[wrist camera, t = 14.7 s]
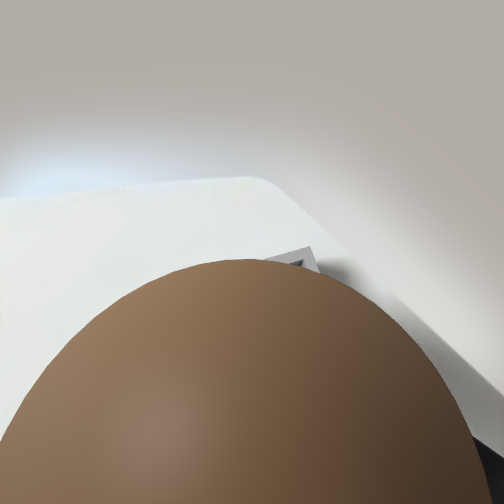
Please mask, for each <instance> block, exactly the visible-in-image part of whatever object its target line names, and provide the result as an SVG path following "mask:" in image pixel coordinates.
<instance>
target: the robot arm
mask: <svg viewBox="0 0 504 504" xmlns="http://www.w3.org/2000/svg"><path fill="white" fill-rule="evenodd" d="M472 438H473V441H474V443H475V446H476V449H477V451H478V454H479V457H480V460H481V462H482V465H483V468H484V472H485V476H486V480H487V484H488V487H489V491H490V495H491V499H492V503H493V504H504V458H503V457H502V456H500V455H499V454H497V453H496V452H494V451H493V450H492V449H490V448H489V447H487V446H486V445H484V444H483V443H482V442H480V441H479V440H477V439H476V438H475V437H473V436H472Z"/></svg>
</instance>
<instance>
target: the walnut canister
mask: <svg viewBox="0 0 504 504" xmlns="http://www.w3.org/2000/svg"><path fill="white" fill-rule="evenodd" d="M0 504H493V503H492V499H491V495H490V491H489V487H488V484H487V480H486V476H485V472H484V468H483V465H482V462H481V460H480V457H479V454H478V451H477V449H476V446H475V443H474V441H473V438H472V435H471V432H470V430H469V428H468V426H467V424H466V422H465V419H464V417H463V415H462V413H461V411H460V409H459V407H458V405H457V403H456V401H455V399H454V397H453V395H452V394H451V392H450V390H449V389H448V387H447V386H446V384H445V382H444V381H443V379H442V377H441V376H440V374H439V372H438V371H437V369H436V368H435V367H434V365H433V364H432V363H431V361H430V360H429V359H428V357H427V356H426V355H425V353H424V352H423V351H422V349H421V348H420V347H419V345H418V344H417V343H416V342H415V341H414V340H413V339H412V338H411V337H410V336H409V335H408V334H407V333H406V331H405V330H404V329H403V328H402V327H401V326H400V325H399V324H398V323H397V322H396V321H395V320H394V319H392V318H391V317H390V316H389V315H388V314H386V313H385V312H384V311H383V310H382V309H381V308H379V307H378V306H377V305H376V304H375V303H373V302H372V301H370V300H369V299H367V298H366V297H364V296H363V295H361V294H360V293H358V292H357V291H355V290H354V289H352V288H350V287H348V286H346V285H344V284H342V283H340V282H338V281H337V280H335V279H333V278H331V277H329V276H326V275H323V274H321V273H318V272H315V271H312V270H310V269H307V268H304V267H300V266H296V265H291V264H287V263H282V262H277V261H267V260H257V259H241V260H223V261H217V262H210V263H204V264H199V265H195V266H192V267H189V268H185V269H182V270H178V271H175V272H172V273H170V274H167V275H165V276H163V277H160V278H158V279H156V280H153V281H151V282H149V283H147V284H145V285H143V286H141V287H140V288H138V289H136V290H134V291H133V292H131V293H129V294H127V295H126V296H124V297H122V298H121V299H119V300H118V301H116V302H115V303H114V304H112V305H111V306H110V307H108V308H107V309H106V310H104V311H103V312H102V313H100V314H99V315H97V316H96V317H95V318H94V319H93V320H92V321H90V322H89V323H88V324H87V325H86V326H85V327H84V328H83V329H82V330H81V331H80V332H79V333H77V334H76V335H75V336H74V337H73V338H72V339H71V340H70V341H69V342H68V343H67V344H66V346H65V347H64V348H63V349H62V350H61V351H60V352H59V354H58V355H57V356H56V357H55V358H54V359H53V360H52V362H51V363H50V364H49V365H48V366H47V367H46V369H45V370H44V371H43V373H42V374H41V376H40V377H39V378H38V380H37V381H36V383H35V384H34V386H33V387H32V388H31V390H30V391H29V393H28V394H27V395H26V397H25V398H24V400H23V402H22V403H21V405H20V407H19V409H18V410H17V412H16V414H15V416H14V417H13V419H12V421H11V423H10V424H9V426H8V428H7V430H6V431H5V433H4V435H3V437H2V440H1V442H0Z"/></svg>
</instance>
